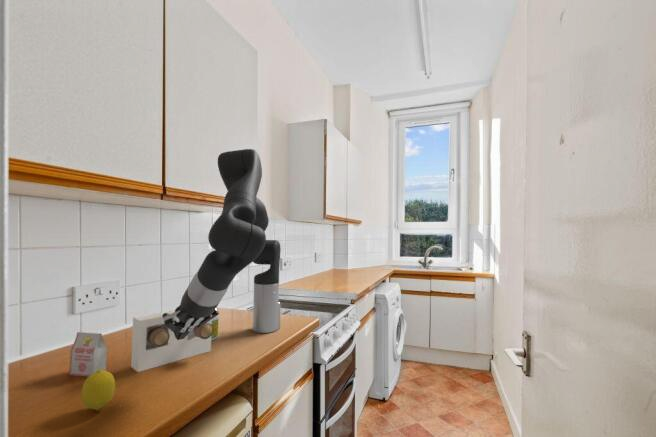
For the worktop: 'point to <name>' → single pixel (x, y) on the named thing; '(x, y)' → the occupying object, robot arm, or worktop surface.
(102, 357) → the white milk carton
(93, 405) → the lemon
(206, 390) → the worktop surface
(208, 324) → the knob
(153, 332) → the knob
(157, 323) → the panel
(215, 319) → the supplement bottle
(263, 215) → the robot arm
